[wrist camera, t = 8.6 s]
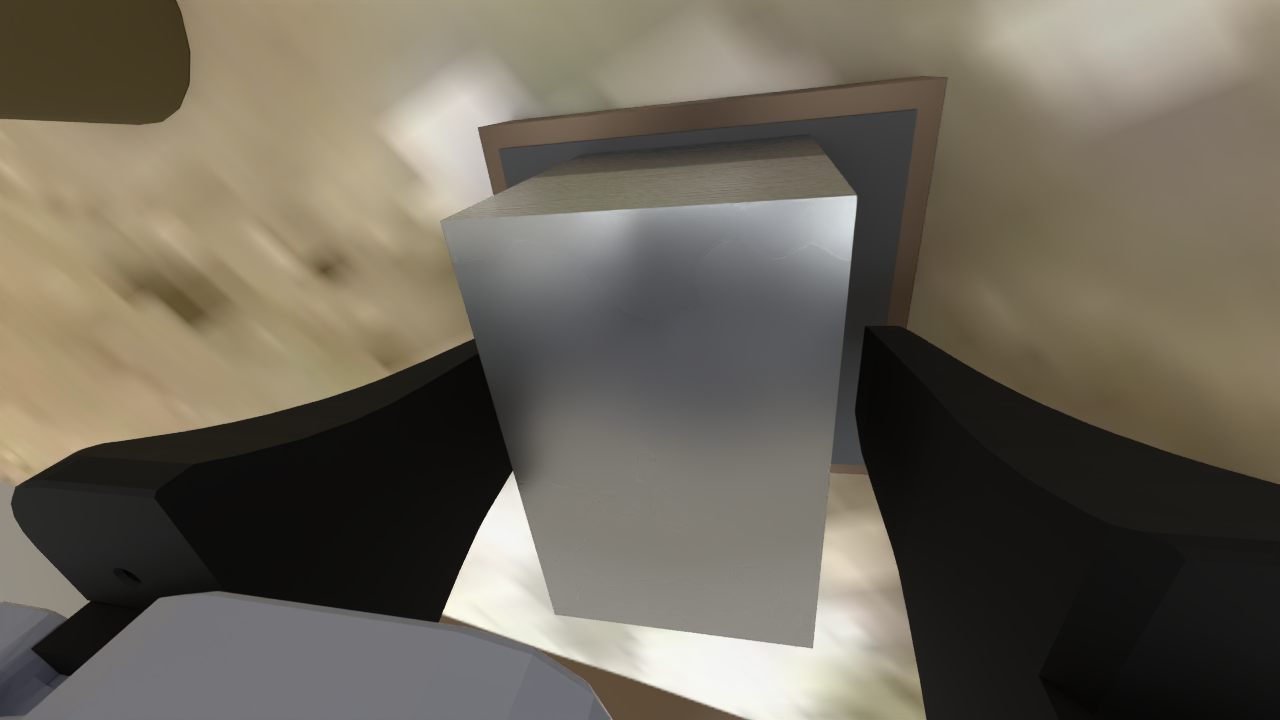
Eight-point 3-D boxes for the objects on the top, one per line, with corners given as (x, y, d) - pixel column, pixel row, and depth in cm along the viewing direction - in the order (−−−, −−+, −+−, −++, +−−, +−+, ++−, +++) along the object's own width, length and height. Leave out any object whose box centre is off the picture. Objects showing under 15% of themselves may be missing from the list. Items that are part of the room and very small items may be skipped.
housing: (810, 134, 10) (857, 195, 5) (794, 441, 14) (812, 647, 9) (581, 154, 12) (439, 221, 6) (622, 434, 15) (555, 614, 10)
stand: (921, 76, 11) (951, 77, 10) (870, 436, 16) (883, 480, 14) (509, 121, 13) (473, 128, 12) (572, 424, 18) (553, 461, 17)
